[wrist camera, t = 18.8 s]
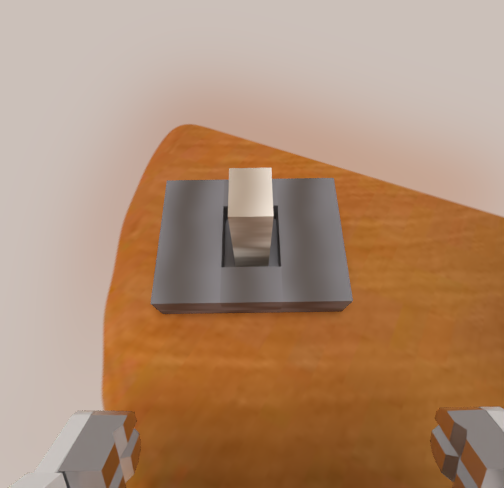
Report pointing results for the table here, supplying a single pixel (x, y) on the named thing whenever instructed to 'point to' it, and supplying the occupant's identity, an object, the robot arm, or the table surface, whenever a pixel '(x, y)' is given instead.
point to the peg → (250, 215)
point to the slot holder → (251, 278)
